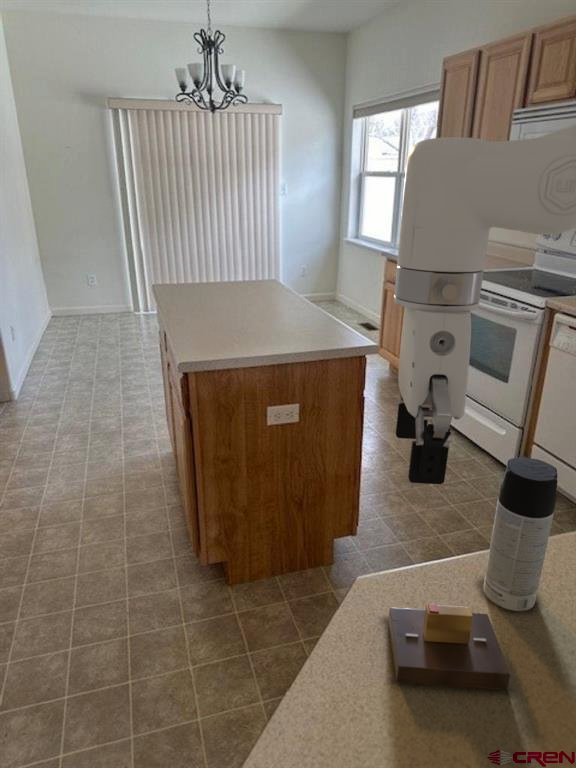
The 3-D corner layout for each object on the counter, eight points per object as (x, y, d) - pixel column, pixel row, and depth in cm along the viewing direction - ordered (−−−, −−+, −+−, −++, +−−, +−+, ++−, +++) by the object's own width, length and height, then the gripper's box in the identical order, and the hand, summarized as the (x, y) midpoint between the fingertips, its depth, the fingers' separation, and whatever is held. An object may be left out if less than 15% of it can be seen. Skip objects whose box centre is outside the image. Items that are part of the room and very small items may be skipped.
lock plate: (484, 632, 67) (487, 612, 66) (506, 695, 58) (510, 673, 57) (387, 626, 68) (389, 606, 67) (396, 687, 59) (398, 665, 58)
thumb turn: (465, 634, 63) (470, 605, 61) (468, 644, 61) (473, 614, 60) (422, 631, 63) (426, 602, 62) (424, 641, 62) (428, 611, 60)
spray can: (535, 590, 74) (560, 461, 68) (534, 623, 69) (562, 486, 62) (485, 576, 77) (505, 451, 70) (480, 607, 71) (501, 473, 65)
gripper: (510, 308, 40) (477, 506, 45) (457, 277, 56) (438, 425, 62) (408, 304, 40) (389, 501, 46) (385, 274, 57) (373, 422, 62)
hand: (417, 458), depth 54 cm, fingers open, 9 cm apart
